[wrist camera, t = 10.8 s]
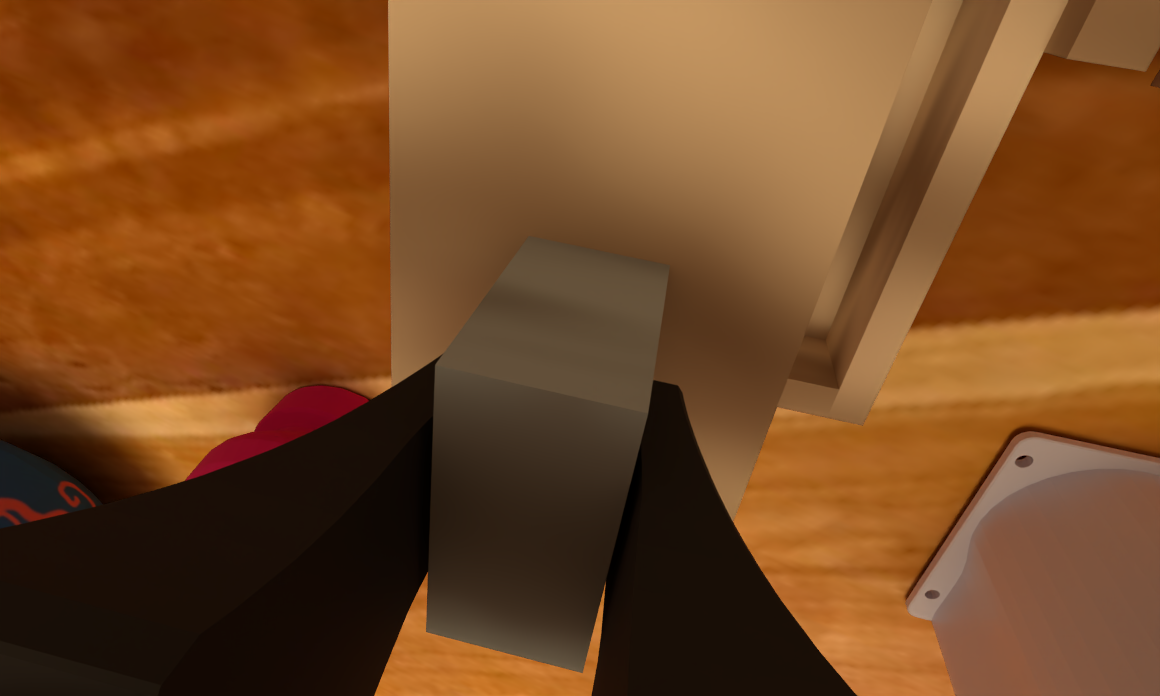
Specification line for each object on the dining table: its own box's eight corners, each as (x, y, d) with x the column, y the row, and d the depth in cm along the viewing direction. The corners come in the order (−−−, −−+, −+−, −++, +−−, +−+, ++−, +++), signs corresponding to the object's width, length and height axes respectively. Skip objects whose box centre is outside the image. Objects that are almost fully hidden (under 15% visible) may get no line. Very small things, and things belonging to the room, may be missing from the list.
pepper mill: (234, 417, 28) (-515, 1121, 11) (335, 344, 24) (-502, 1181, 8) (351, 524, 30) (-117, 1242, 13) (458, 470, 27) (20, 1326, 10)
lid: (719, 530, 15) (722, 767, 10) (406, 455, 15) (281, 648, 11) (949, -92, 9) (1208, -177, 4) (411, -177, 9) (125, -331, 5)
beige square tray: (886, 368, 21) (923, 460, 17) (563, 301, 22) (530, 373, 18) (1095, -68, 14) (1231, -78, 10) (623, -137, 15) (590, -169, 11)
